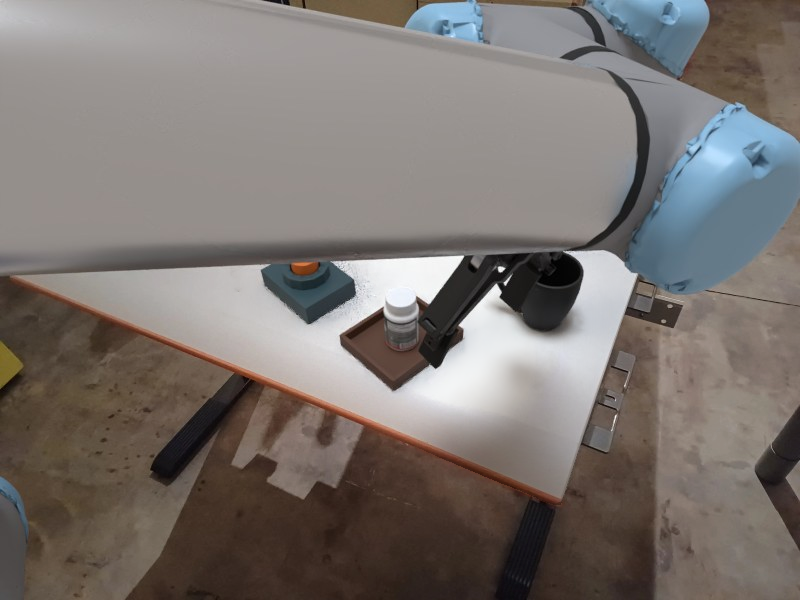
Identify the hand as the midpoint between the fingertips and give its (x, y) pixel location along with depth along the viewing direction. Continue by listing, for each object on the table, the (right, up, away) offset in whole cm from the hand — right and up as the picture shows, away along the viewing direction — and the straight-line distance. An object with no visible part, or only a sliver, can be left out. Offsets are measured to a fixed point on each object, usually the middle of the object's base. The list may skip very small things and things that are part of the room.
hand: (471, 329), depth 61 cm
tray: (-8, -3, +16) cm, 18 cm away
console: (-22, +5, +25) cm, 33 cm away
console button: (-22, +8, +22) cm, 32 cm away
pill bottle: (-8, -2, +16) cm, 18 cm away
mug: (+11, +1, +19) cm, 22 cm away
